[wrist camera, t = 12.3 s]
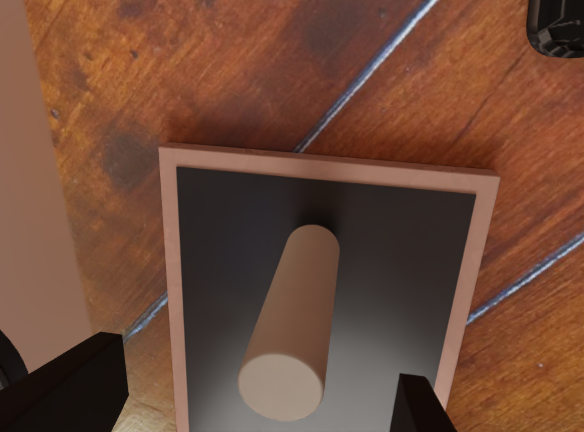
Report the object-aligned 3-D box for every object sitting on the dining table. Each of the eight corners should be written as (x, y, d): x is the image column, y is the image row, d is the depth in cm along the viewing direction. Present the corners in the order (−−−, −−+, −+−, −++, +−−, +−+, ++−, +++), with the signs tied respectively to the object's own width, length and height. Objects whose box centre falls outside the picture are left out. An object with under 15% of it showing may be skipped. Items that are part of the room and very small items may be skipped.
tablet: (185, 462, 27) (178, 479, 26) (167, 141, 20) (156, 146, 19) (417, 503, 26) (420, 522, 25) (494, 169, 18) (502, 177, 17)
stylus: (289, 258, 20) (236, 415, 12) (291, 212, 19) (236, 346, 11) (338, 263, 20) (320, 429, 11) (343, 217, 19) (327, 358, 10)
